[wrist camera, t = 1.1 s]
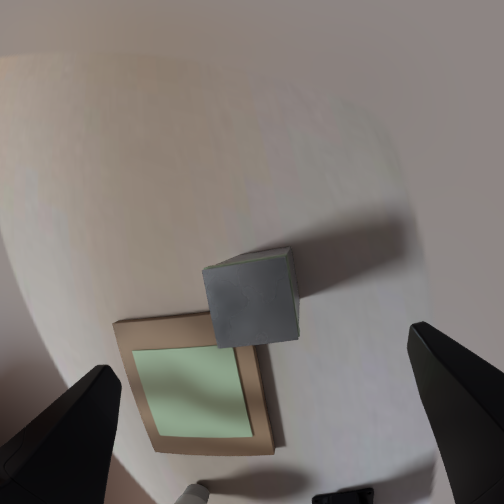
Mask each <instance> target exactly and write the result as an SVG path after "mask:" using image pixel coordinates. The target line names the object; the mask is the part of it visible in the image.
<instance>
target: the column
mask: <svg viewBox="0 0 504 504" xmlns="http://www.w3.org/2000/svg"><path fill="white" fill-rule="evenodd" d="M202 274H203V279H204V284H205V289H206V294H207V299H208V304H209V309H210V314H211V319H212V324H213V328H214V333H215V338H216V342H217V347H218V349H221V348H232V347H242V346H251V345H260V344H268V343H276V342H284V341H291V340H298V337H300V329H299V305H300V298H299V291H298V285H297V279H296V273H295V267H294V261H293V255H292V249H291V246H290V247H284V248H278V249H272V250H266V251H260V252H254V253H249V254H243V255H238V256H235V257H233V258H231V259H228V260H226V261H223V262H221V263H218V264H216V265H212V266H208V267H206V268H204V270H202Z"/></svg>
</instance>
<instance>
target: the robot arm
mask: <svg viewBox="0 0 504 504" xmlns="http://www.w3.org/2000/svg"><path fill="white" fill-rule="evenodd" d="M407 351H408V355H409V358H410V362H411V365H412V369H413V372H414V376H415V380H416V383H417V387H418V391H419V395H420V398H421V401H422V404H423V406H424V409H425V411H426V414H427V417H428V419H429V422H430V425H431V428H432V430H433V433H434V436H435V439H436V442H437V445H438V448H439V451H440V454H441V457H442V460H443V463H444V466H445V469H446V472H447V476H448V479H449V482H450V486H451V489H452V492H453V496H454V500H455V503H456V504H504V373H503V372H502V371H500V370H499V369H497V368H496V367H494V366H493V365H491V364H490V363H488V362H487V361H485V360H483V359H482V358H480V357H479V356H477V355H476V354H475V353H473V352H471V351H470V350H468V349H467V348H465V347H464V346H462V345H461V344H459V343H458V342H456V341H455V340H453V339H451V338H450V337H448V336H447V335H445V334H444V333H442V332H441V331H439V330H437V329H436V328H434V327H433V326H431V325H430V324H428V323H426V322H424V321H422V322H418V323H414V324H412V325H411V326H410V329H409V336H408V343H407ZM121 390H122V385H121V382H120V380H119V379H118V377H117V376H116V374H115V373H114V371H113V370H112V368H111V367H110V366H109V365H97V366H95V367H94V368H93V369H92V370H90V371H89V372H88V373H87V374H86V375H85V376H83V377H82V378H81V379H80V380H79V381H78V382H76V383H75V384H74V385H73V386H72V387H71V388H69V389H68V390H67V391H66V392H65V393H64V394H62V395H61V396H60V397H59V398H58V399H57V400H55V401H54V402H53V403H52V404H51V405H50V406H49V407H47V408H46V409H45V410H44V411H43V412H41V413H40V414H39V415H38V416H37V417H36V418H35V419H33V420H32V421H31V422H30V423H29V424H28V425H26V427H24V428H23V429H22V430H21V431H20V432H18V433H17V434H16V435H15V436H14V437H12V438H11V439H10V440H9V441H8V442H6V443H5V444H4V445H2V446H1V447H0V504H104V498H105V491H106V485H107V479H108V472H109V467H110V462H111V456H112V451H113V446H114V441H115V436H116V431H117V424H118V415H119V406H120V398H121ZM373 498H374V490H373V488H367V489H362V490H356V491H351V492H344V493H338V494H330V495H322V496H315V497H313V498H312V504H373Z"/></svg>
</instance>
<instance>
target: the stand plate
mask: <svg viewBox="0 0 504 504" xmlns="http://www.w3.org/2000/svg"><path fill="white" fill-rule="evenodd" d="M112 325H113V328H114V332H115V336H116V340H117V344H118V347H119V351H120V354H121V358H122V361H123V364H124V368H125V371H126V374H127V377H128V380H129V383H130V387H131V390H132V392H133V395H134V398H135V401H136V404H137V407H138V410H139V412H140V415H141V418H142V420H143V423H144V426H145V428H146V431H147V433H148V436H149V438H150V441H151V443H152V446H153V448H154V450H155V452H161V453H172V454H185V455H205V456H258V455H274V453H275V445H274V440H273V435H272V430H271V425H270V420H269V415H268V410H267V405H266V399H265V394H264V389H263V384H262V379H261V374H260V369H259V363H258V358H257V353H256V348H255V345H251V346H242V347H232V348H221V349H218V347H217V342H216V338H215V333H214V328H213V324H212V319H211V314H210V312H202V313H193V314H184V315H175V316H165V317H155V318H145V319H134V320H122V321H117V322H115V323H113V324H112Z"/></svg>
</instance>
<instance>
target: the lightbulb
mask: <svg viewBox="0 0 504 504" xmlns="http://www.w3.org/2000/svg"><path fill="white" fill-rule="evenodd" d="M208 499H209V491H208V490H207V488H205V487H204V486H202V485H199V484H191V485H189V486H188V487H187V488H186V490H185V492H184V493H183V495H181V496H180V497H179V498H178V499H177V501H176V502H175V503H174V504H207V502H208Z"/></svg>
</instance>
